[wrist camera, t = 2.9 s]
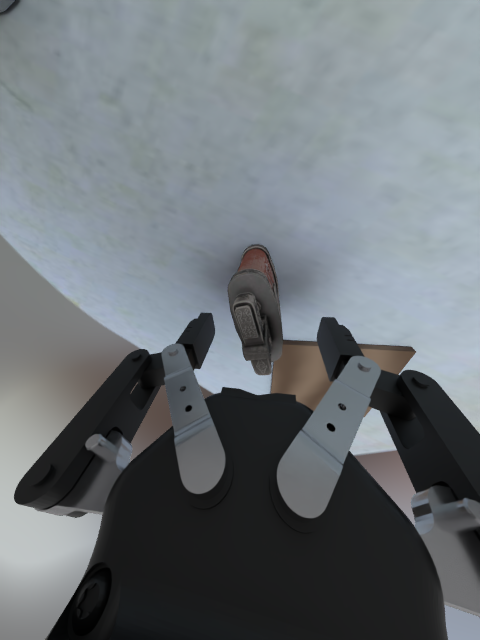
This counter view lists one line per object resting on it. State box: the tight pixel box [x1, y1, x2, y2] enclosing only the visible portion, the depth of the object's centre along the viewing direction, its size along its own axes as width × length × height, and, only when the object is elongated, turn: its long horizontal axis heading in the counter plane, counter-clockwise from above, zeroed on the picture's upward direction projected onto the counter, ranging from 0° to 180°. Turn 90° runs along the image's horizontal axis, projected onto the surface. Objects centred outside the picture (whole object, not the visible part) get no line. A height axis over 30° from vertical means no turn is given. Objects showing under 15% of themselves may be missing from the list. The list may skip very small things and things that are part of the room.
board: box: [271, 340, 416, 417], centre depth 26 cm, size 16×16×1 cm
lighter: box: [228, 244, 283, 375], centre depth 14 cm, size 8×3×10 cm, turn 16°
